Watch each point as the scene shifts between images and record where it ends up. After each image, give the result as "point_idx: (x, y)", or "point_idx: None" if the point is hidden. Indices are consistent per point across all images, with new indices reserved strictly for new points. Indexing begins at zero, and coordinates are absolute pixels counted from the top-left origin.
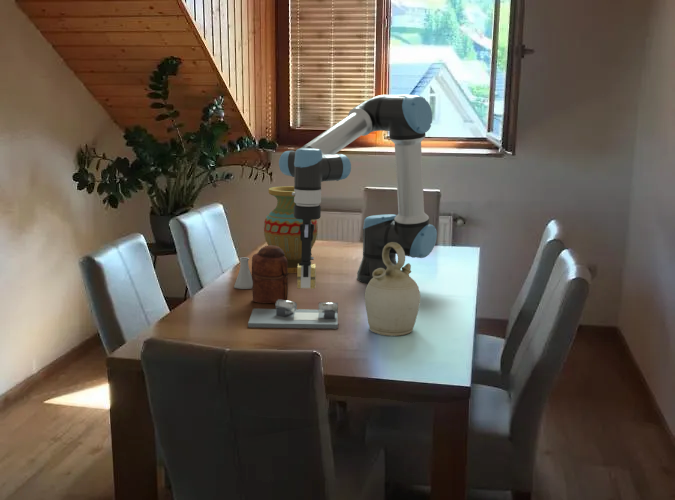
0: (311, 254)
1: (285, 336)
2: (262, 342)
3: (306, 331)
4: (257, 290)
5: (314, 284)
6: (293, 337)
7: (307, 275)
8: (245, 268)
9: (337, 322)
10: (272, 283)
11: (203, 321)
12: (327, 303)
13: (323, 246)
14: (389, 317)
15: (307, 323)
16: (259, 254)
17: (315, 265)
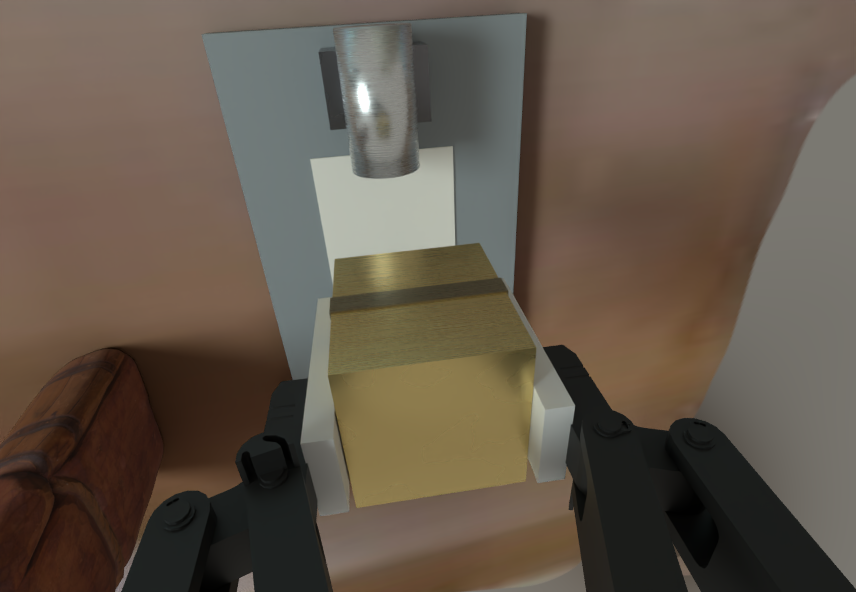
0: (187, 510)
1: (618, 263)
2: (674, 326)
3: (559, 186)
4: (147, 502)
5: (486, 263)
6: (635, 230)
7: (575, 360)
8: None
9: (488, 17)
10: (113, 486)
11: (445, 522)
12: (393, 112)
13: None
14: None
15: (510, 196)
16: None
17: (392, 363)
